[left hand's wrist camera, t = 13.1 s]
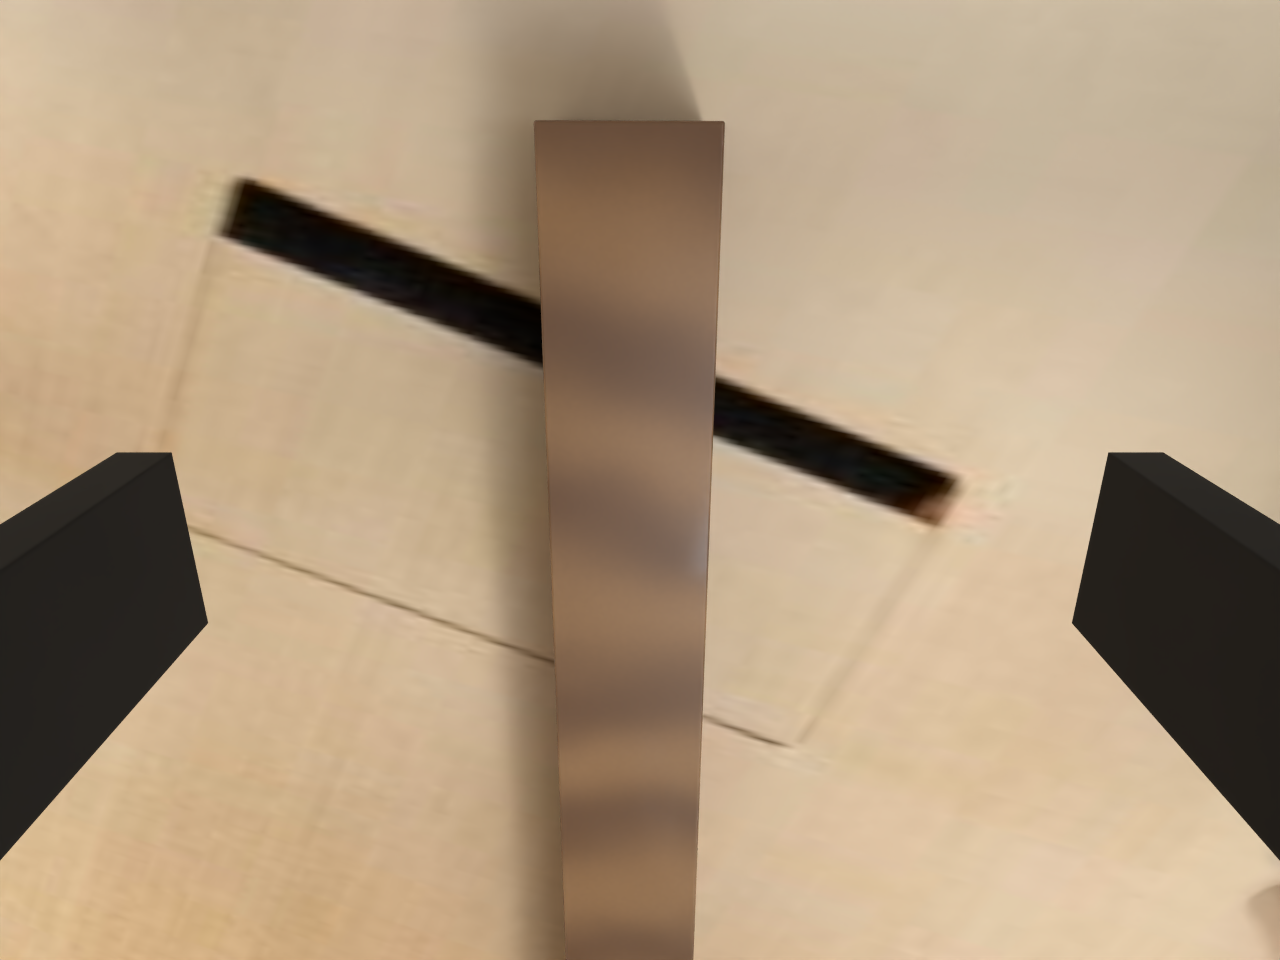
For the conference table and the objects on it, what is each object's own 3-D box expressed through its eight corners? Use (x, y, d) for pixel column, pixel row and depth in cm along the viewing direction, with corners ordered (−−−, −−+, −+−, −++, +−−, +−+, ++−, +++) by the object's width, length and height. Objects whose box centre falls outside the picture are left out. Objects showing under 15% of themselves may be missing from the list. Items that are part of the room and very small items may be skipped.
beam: (553, 122, 32) (533, 120, 25) (704, 122, 32) (725, 121, 25) (586, 1214, 57) (581, 1365, 50) (672, 1213, 57) (678, 1364, 50)
